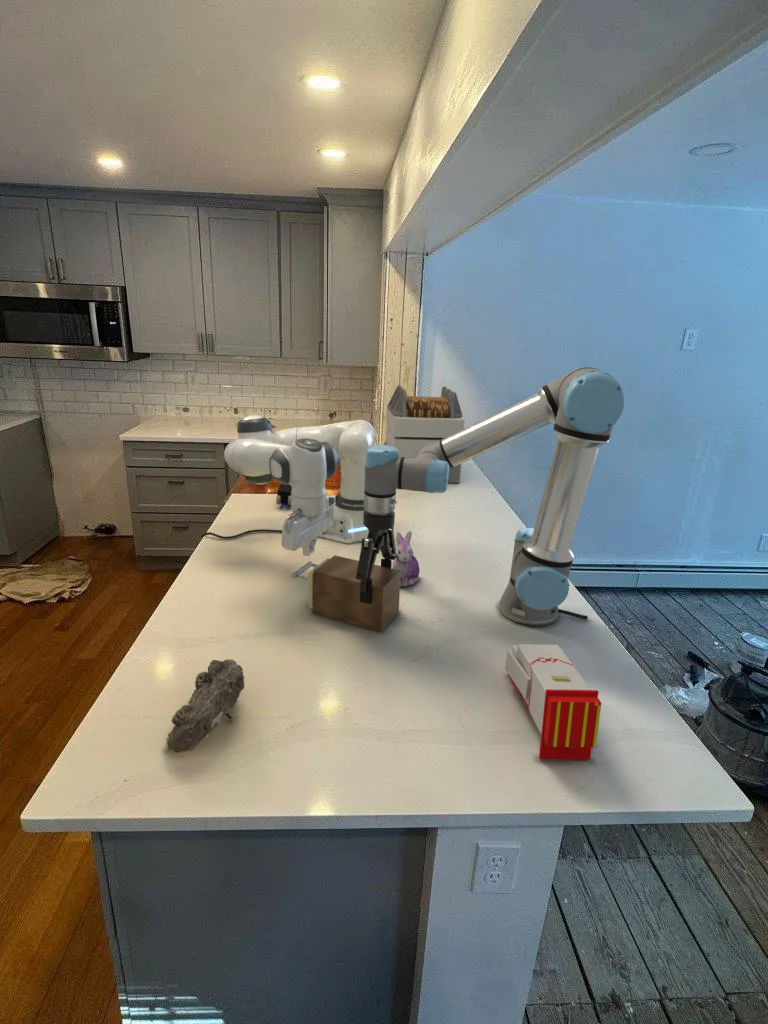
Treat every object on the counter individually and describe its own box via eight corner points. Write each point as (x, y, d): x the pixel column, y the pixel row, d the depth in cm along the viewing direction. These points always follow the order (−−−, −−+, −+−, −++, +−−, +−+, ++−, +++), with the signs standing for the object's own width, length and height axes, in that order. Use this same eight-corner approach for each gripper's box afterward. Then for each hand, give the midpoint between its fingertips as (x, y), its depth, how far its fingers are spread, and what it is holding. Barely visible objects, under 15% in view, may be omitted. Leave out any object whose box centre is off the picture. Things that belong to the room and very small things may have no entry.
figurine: (399, 590, 159) (401, 541, 154) (382, 575, 168) (384, 528, 163) (427, 584, 164) (431, 536, 158) (410, 570, 172) (413, 524, 167)
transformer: (382, 463, 289) (386, 382, 275) (445, 464, 293) (451, 384, 279) (390, 482, 257) (394, 392, 243) (460, 483, 261) (468, 394, 247)
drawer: (290, 602, 149) (289, 567, 146) (309, 586, 158) (309, 553, 154) (370, 624, 140) (372, 588, 137) (386, 606, 149) (388, 572, 145)
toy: (554, 627, 126) (611, 698, 97) (548, 682, 129) (602, 767, 99) (500, 626, 125) (540, 697, 96) (495, 681, 128) (534, 767, 99)
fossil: (192, 660, 117) (244, 628, 112) (224, 691, 120) (276, 661, 115) (142, 746, 98) (202, 712, 93) (182, 779, 101) (242, 748, 96)
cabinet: (313, 613, 146) (313, 571, 142) (334, 595, 156) (334, 555, 152) (381, 632, 139) (383, 588, 135) (398, 611, 148) (401, 570, 144)
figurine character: (293, 513, 218) (297, 497, 231) (292, 495, 215) (297, 480, 228) (275, 513, 218) (281, 496, 231) (274, 495, 214) (280, 479, 228)
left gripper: (297, 518, 133) (297, 571, 138) (338, 495, 151) (337, 543, 155) (274, 513, 135) (275, 566, 140) (318, 491, 153) (317, 538, 158)
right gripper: (372, 529, 124) (369, 616, 131) (411, 499, 144) (406, 577, 152) (342, 522, 127) (340, 609, 134) (384, 494, 147) (381, 571, 154)
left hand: (308, 554), depth 148 cm, fingers closed
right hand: (375, 592), depth 143 cm, fingers closed on cabinet, 11 cm apart
